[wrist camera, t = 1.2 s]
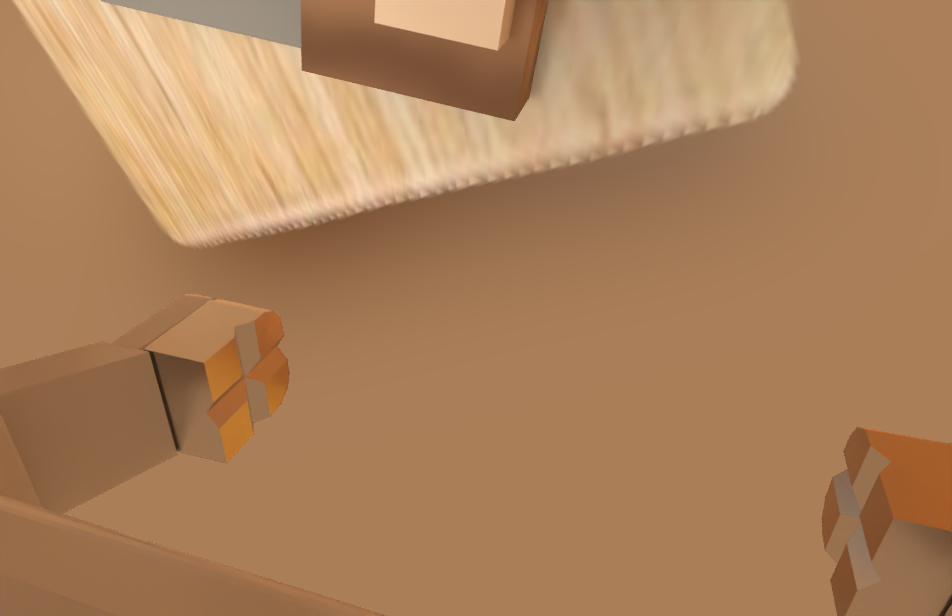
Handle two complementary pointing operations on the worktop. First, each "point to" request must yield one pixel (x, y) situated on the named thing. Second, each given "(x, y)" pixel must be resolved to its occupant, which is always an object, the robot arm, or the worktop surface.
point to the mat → (232, 16)
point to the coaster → (451, 19)
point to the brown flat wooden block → (422, 57)
